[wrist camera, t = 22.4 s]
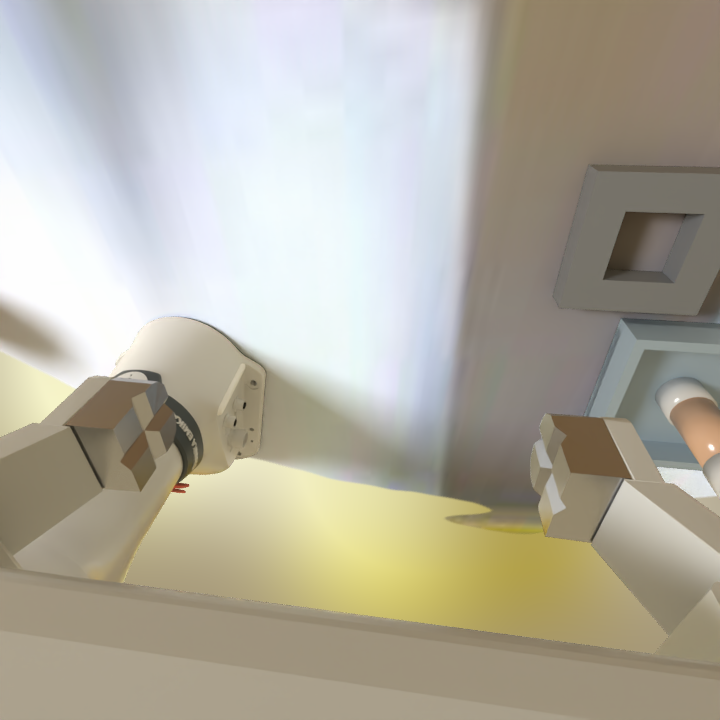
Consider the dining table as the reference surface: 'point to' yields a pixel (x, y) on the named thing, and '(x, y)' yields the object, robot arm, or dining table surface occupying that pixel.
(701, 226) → the fuse holder
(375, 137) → the dining table surface
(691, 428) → the cylinder
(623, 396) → the parts tray
